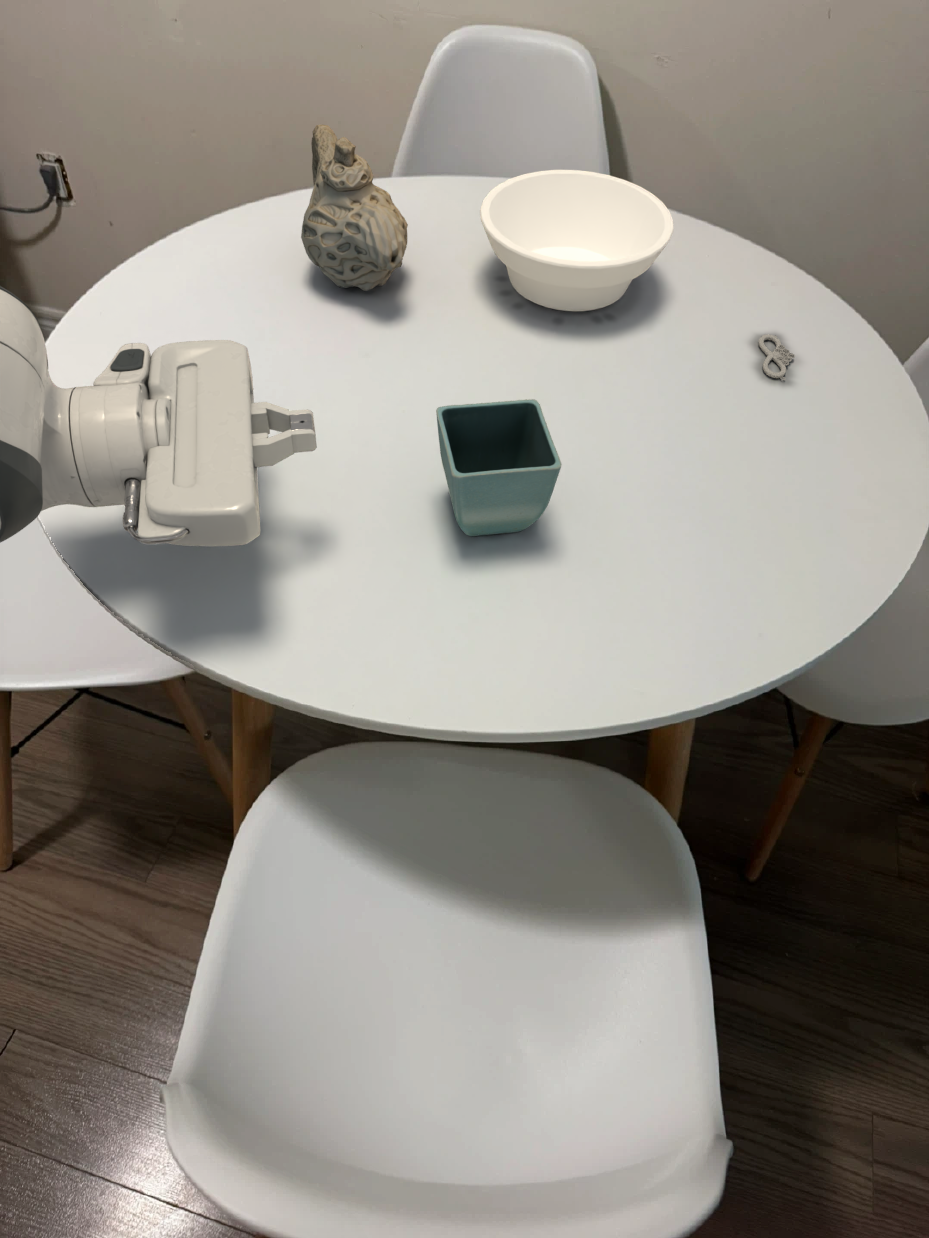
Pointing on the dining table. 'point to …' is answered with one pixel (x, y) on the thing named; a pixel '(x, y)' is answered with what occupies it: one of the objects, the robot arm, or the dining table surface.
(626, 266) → the bowl
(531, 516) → the flower pot
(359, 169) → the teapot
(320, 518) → the dining table surface
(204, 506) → the robot arm
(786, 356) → the charm
